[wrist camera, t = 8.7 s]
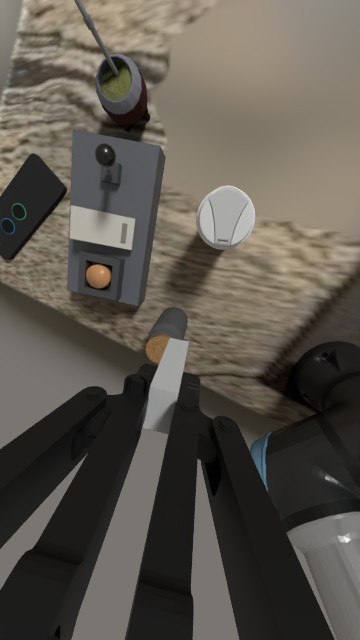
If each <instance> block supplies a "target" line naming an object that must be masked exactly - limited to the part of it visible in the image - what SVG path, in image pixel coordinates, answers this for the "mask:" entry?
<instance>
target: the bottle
mask: <svg viewBox="0 0 360 640" xmlns="http://www.w3.org/2000/svg"><path fill="white" fill-rule="evenodd" d="M187 322H188V321H187V316H186V314H185V313H184V312H183V311H182V310H181V309H179V308H168V309H166V310H165V311H164V312H163V313H162V315H161V316H160V318H159V319H158V321H157V322H156V324H155V325H154V327H153V328H152V330H151V332H150V335H149V339H148V343H147V345H146V354H147V356H148V358H149V359H150V360H151V361H153V362H154V363H157V364H159V363H160V361H161V359H162V356H163V354H164V351H165V349H166V346H167V344H168V341H169V339H170V338H174V339H178V340H183V339H184V335H185V331H186V327H187Z"/></svg>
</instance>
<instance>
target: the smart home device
mask: <svg viewBox="0 0 360 640" xmlns="http://www.w3.org/2000/svg"><path fill="white" fill-rule="evenodd" d="M66 192H67V188H66V187H65V186H64V184H63V183H62V182H61V181H60V180H59V179H58V178H57V176H56V175H55V174H54V173H53V172H52V171H51V170H50V168H49V167H48V166H47V165H46V164H45V163H44V162H43V160H42V159H41V158H40V157H39V156H38V155H36V154H34V153H33V154H31V155H30V156H29V157H28V158H27V160H26V161H25V163H24V164H23V165H22V167H21V168H20V170H19V171H18V172H17V174H16V175H15V177H14V178H13V179H12V181H11V182H10V184H9V185H8V186H7V188H6V189H5V191H4V192H3V193H2V195H1V196H0V255H1V256H2V257H3V258H4V259H6V260H8V259H12V258H14V257H15V255H16V254H17V253H18V252H19V250H20V249H21V248H22V247H23V245H24V244H25V243H26V242H27V241H28V239H29V238H30V237H31V236H32V234H33V233H34V232H35V231H36V229H37V228H38V227H39V226H40V225H41V223H42V222H43V221H44V220H45V218H46V217H47V216H48V215H49V214H50V213H51V212H52V211H53V209H54V208H55V207H56V206H57V204H58V202H59V201H60V200H61V199H62V198H63V196H64V195H65V194H66Z"/></svg>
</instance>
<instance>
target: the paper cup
mask: <svg viewBox="0 0 360 640" xmlns="http://www.w3.org/2000/svg"><path fill="white" fill-rule="evenodd" d="M254 223H255V210H254V206H253V204H252V201H251V200H250V198H249V197H248V196H247V195H246V194H245V193H244V192H243V191H241V190H239V189H237V188H236V187H235V186H222V187H219V188H217V189H216V190H214V191H212V192H211V193H210V194H208V195H207V196H206V197H205V198H204V199H203V201H202V202H201V204H200V206H199V209H198V212H197V217H196V224H197V229H198V232H199V234H200V236H201V238H202V239H203V240H204V242H205V243H207V244H208V245H209V246H211V247H213V248H216V249H220V250H227V249H232V248H235V247H237V246H239V245H240V244H242V243H243V242H244V241H245V240H246V239H247V238H248V236H249V235H250V233H251V232H252V229H253V227H254Z"/></svg>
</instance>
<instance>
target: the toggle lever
mask: <svg viewBox="0 0 360 640" xmlns="http://www.w3.org/2000/svg"><path fill="white" fill-rule="evenodd" d="M95 157H96V160H97V161H98V163H99V164H100V165H101V166H103V167H104V169H105V172H106V173H107V174H111V173H112V172H113V167H112V166H113V165H114V163H115V161H116V154H115V151H114V149H113V148H112V147H111V146H110V145H108V144H105V143H102V144H100V145H98V146H97V148H96V150H95Z"/></svg>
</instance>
